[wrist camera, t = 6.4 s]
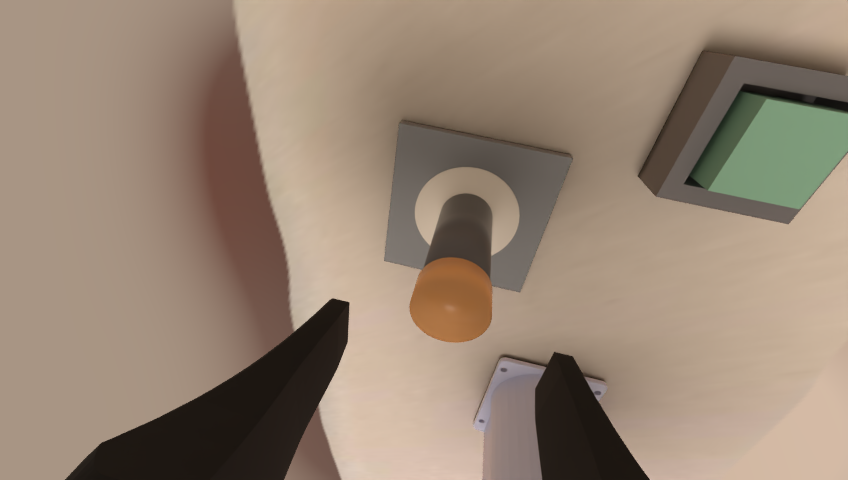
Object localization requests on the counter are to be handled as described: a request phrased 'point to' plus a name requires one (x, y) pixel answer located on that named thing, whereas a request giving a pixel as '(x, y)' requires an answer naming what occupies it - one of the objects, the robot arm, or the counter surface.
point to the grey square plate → (475, 174)
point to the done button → (772, 149)
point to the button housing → (705, 110)
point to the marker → (457, 273)
